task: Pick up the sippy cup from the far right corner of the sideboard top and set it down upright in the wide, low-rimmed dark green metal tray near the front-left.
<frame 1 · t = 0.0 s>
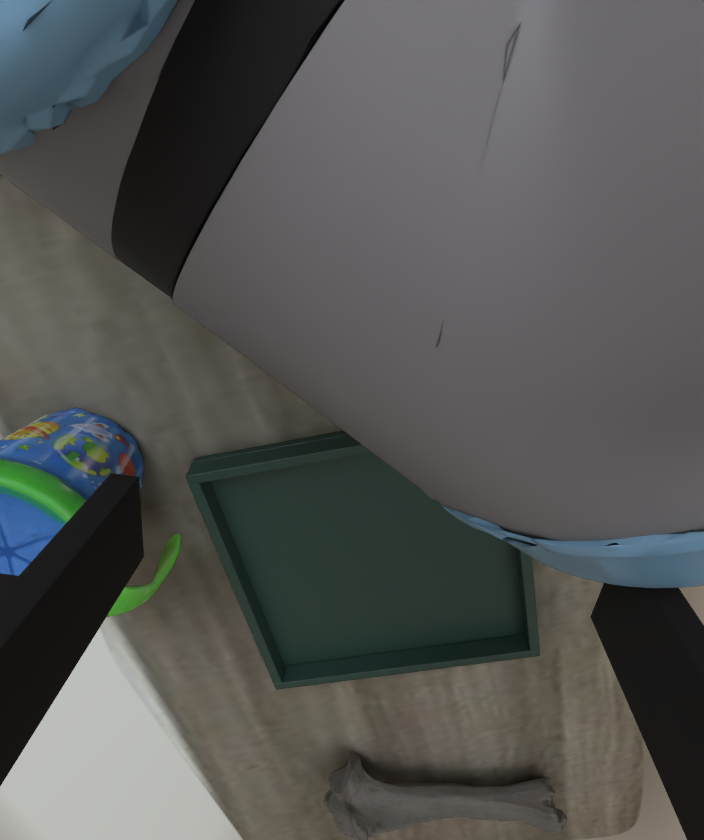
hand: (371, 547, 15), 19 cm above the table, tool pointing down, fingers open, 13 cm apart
tray: (378, 552, 39), on the table
bone: (441, 767, 52), on the table
sippy cup: (91, 454, 36), on the table
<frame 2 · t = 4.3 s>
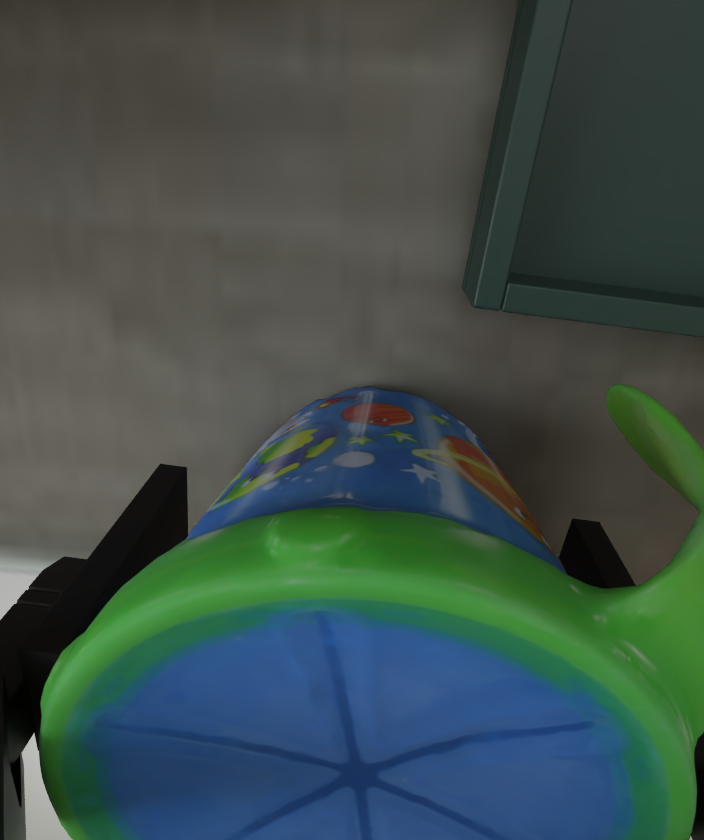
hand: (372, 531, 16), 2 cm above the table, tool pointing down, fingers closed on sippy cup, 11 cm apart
sippy cup: (373, 484, 18), on the table, touching gripper
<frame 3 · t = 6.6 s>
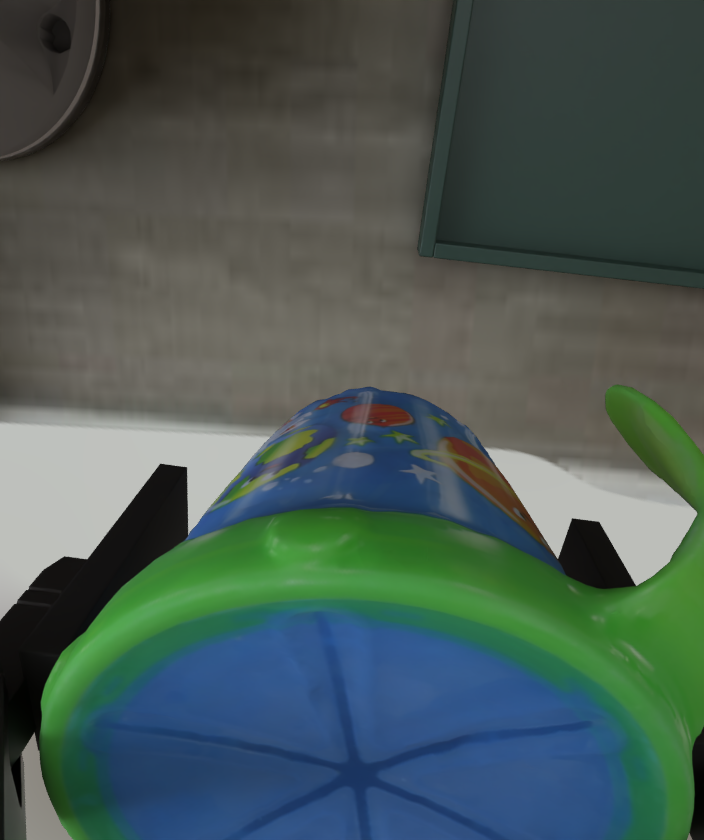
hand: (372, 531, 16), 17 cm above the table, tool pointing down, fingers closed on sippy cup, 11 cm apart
tray: (683, 36, 24), on the table
sippy cup: (373, 485, 18), point 14 cm above the table, touching gripper
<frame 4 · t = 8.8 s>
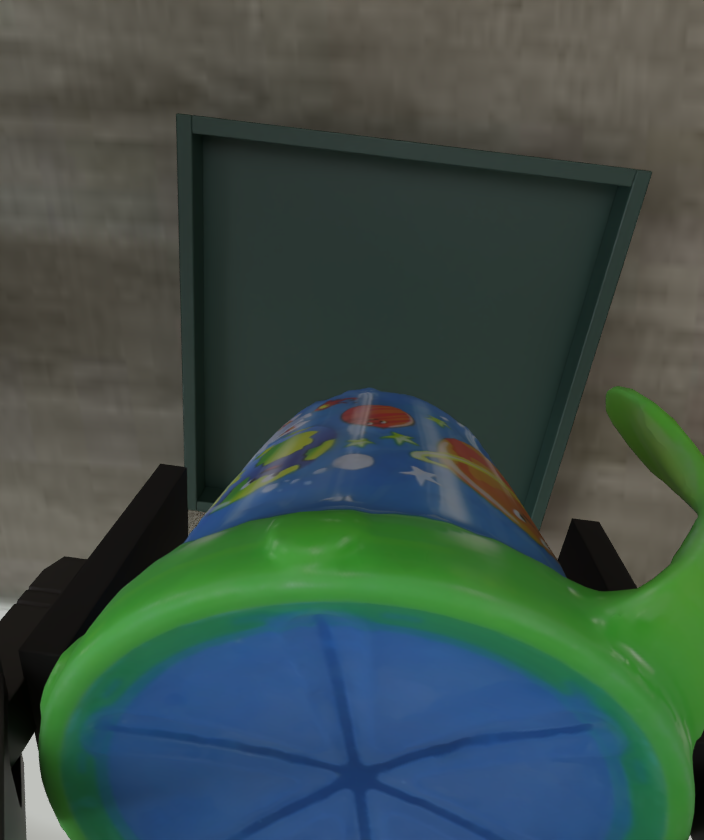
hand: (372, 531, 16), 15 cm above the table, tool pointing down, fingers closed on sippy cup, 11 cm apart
tray: (382, 353, 30), on the table
sippy cup: (373, 486, 18), point 13 cm above the table, touching gripper
when the fingers open (3 cm above the table, at t = 12.2 s): sippy cup stays where it is, resting on tray.
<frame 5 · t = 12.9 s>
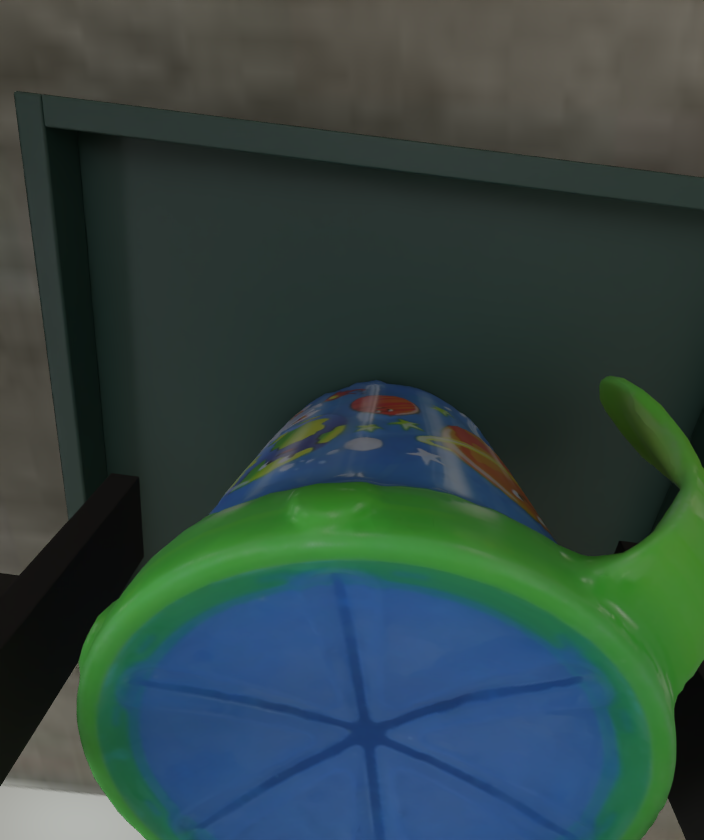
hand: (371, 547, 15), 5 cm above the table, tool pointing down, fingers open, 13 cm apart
tray: (379, 468, 19), on the table
sippy cup: (379, 475, 19), resting on tray
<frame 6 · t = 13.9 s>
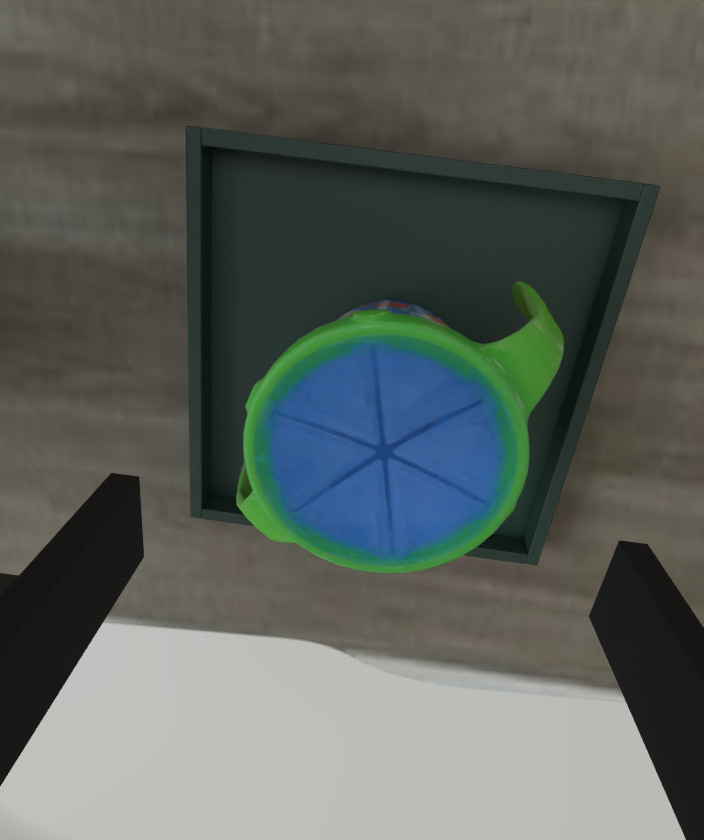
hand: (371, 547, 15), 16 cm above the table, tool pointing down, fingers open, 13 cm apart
tray: (388, 364, 30), on the table
sippy cup: (388, 367, 29), resting on tray
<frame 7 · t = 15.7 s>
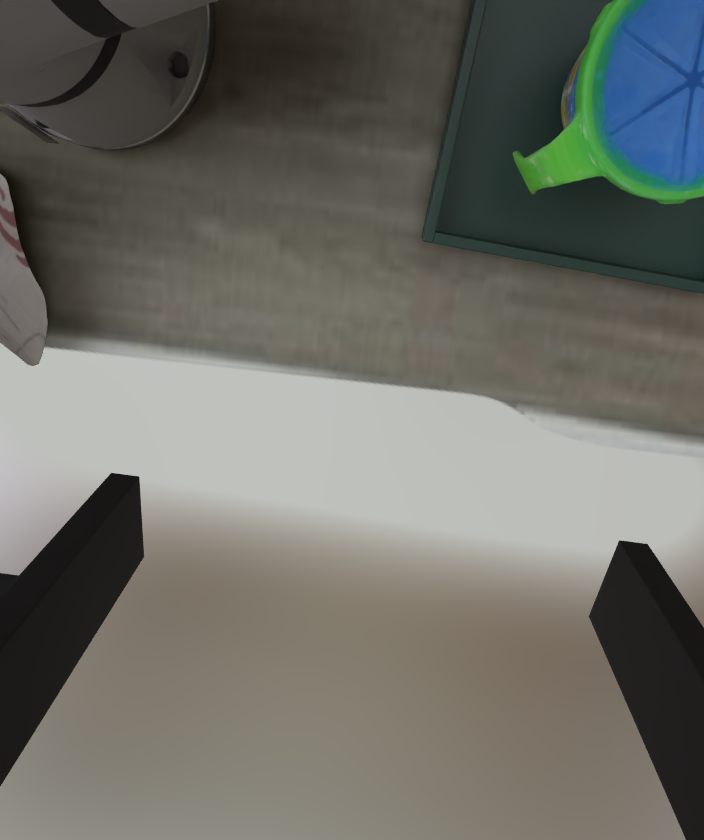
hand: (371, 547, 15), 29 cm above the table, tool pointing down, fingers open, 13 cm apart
tray: (616, 99, 35), on the table
mask: (61, 338, 40), point 3 cm above the table
sippy cup: (618, 99, 34), resting on tray
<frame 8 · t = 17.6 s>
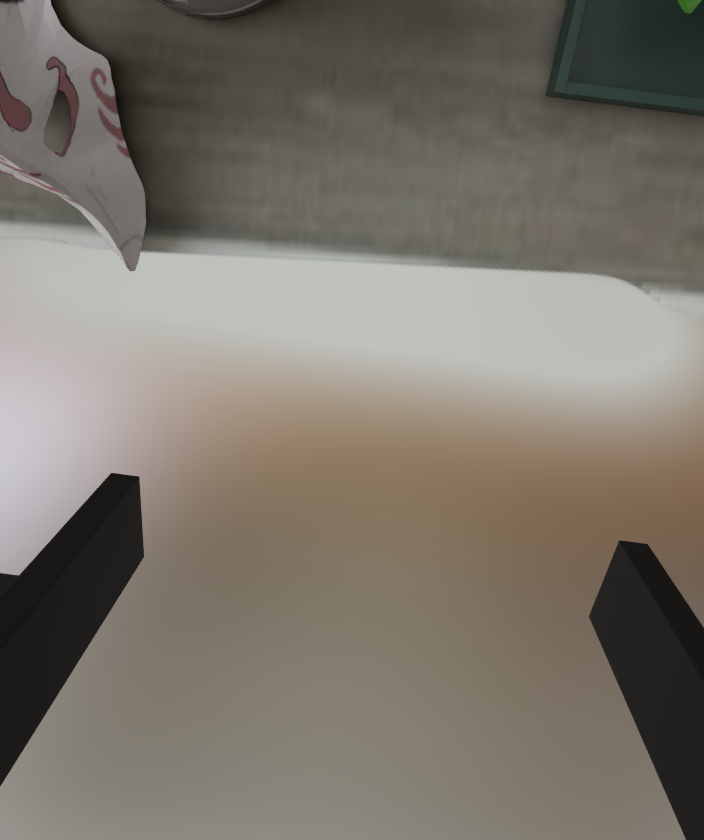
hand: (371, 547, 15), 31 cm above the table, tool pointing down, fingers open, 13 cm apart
mask: (166, 230, 39), point 3 cm above the table
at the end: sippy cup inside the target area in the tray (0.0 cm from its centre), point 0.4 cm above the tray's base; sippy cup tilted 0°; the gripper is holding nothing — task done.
